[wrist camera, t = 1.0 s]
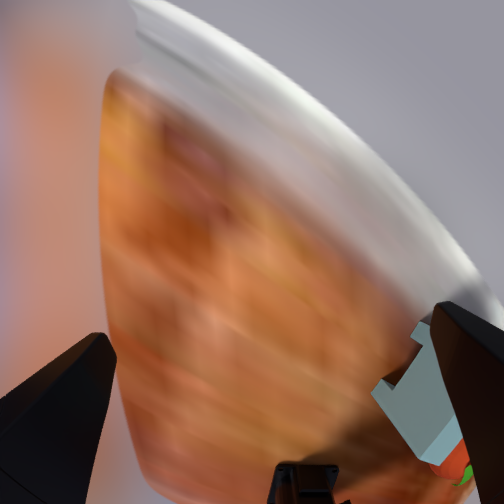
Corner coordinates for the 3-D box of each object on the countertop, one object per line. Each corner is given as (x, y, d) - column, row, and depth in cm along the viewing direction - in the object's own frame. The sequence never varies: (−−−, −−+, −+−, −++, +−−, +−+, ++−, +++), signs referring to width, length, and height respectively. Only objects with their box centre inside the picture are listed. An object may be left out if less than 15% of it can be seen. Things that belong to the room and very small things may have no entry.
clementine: (459, 455, 26) (487, 485, 19) (410, 470, 27) (434, 507, 19) (473, 399, 26) (509, 426, 19) (422, 414, 26) (455, 449, 19)
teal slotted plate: (388, 402, 26) (438, 466, 15) (370, 393, 26) (418, 459, 15) (436, 332, 26) (508, 369, 15) (419, 320, 26) (492, 356, 15)
